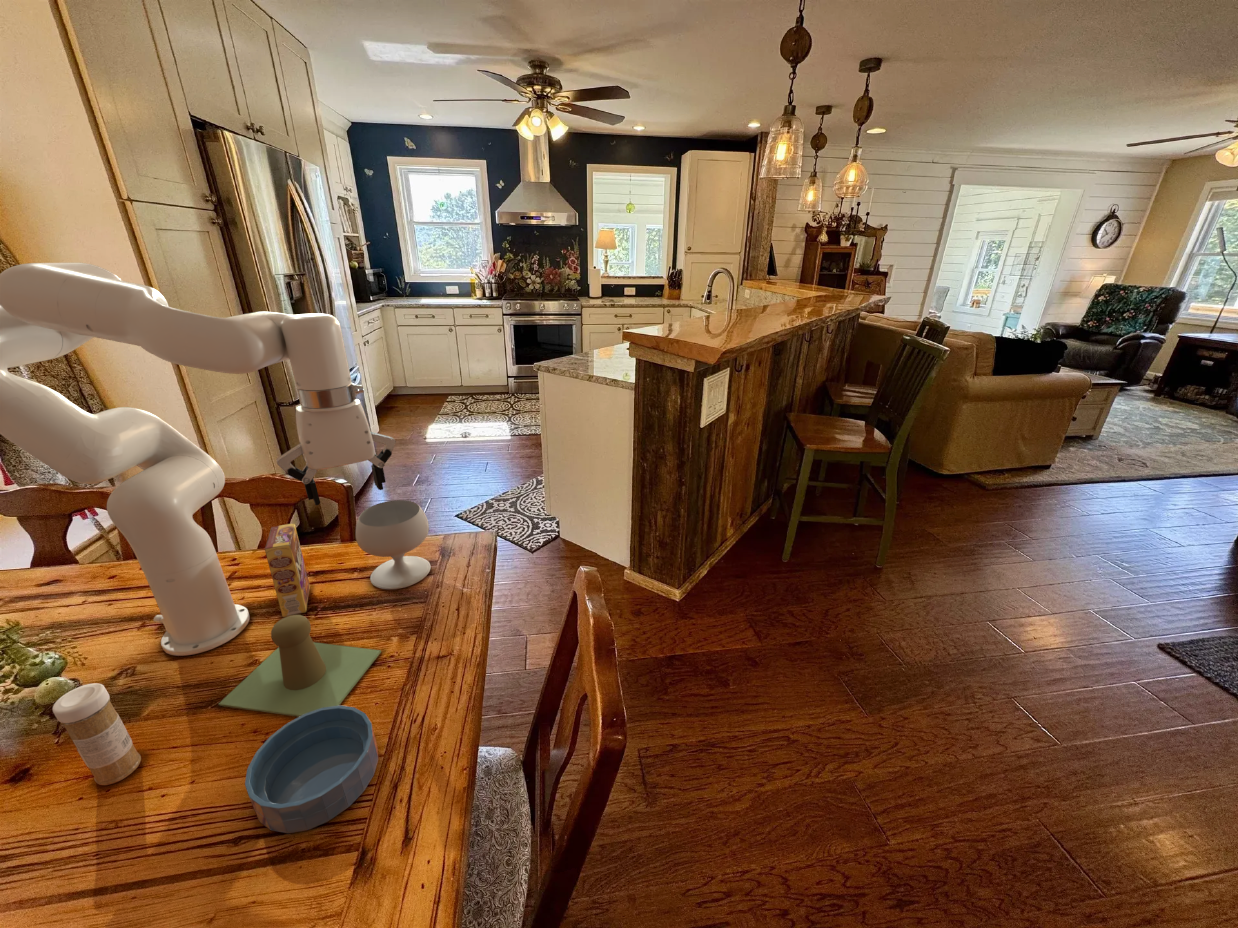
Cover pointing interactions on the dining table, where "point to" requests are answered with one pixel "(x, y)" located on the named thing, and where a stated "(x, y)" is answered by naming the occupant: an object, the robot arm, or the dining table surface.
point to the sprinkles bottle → (97, 733)
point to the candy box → (288, 569)
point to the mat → (271, 695)
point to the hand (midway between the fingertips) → (349, 494)
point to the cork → (297, 653)
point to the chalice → (394, 542)
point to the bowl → (312, 768)
